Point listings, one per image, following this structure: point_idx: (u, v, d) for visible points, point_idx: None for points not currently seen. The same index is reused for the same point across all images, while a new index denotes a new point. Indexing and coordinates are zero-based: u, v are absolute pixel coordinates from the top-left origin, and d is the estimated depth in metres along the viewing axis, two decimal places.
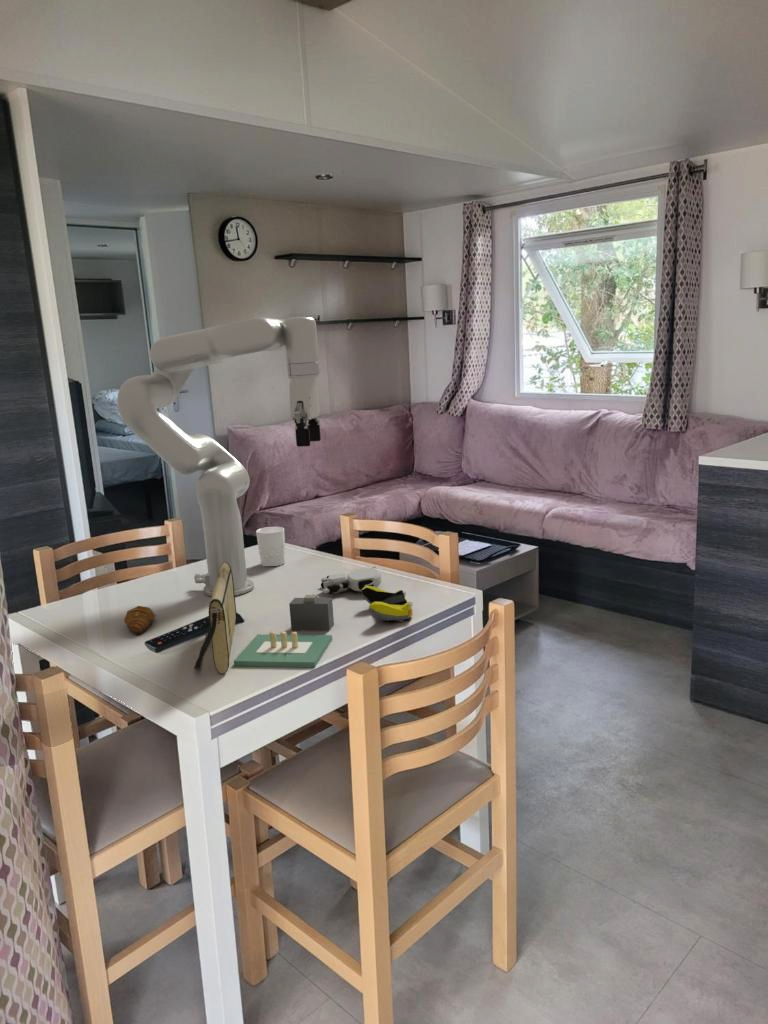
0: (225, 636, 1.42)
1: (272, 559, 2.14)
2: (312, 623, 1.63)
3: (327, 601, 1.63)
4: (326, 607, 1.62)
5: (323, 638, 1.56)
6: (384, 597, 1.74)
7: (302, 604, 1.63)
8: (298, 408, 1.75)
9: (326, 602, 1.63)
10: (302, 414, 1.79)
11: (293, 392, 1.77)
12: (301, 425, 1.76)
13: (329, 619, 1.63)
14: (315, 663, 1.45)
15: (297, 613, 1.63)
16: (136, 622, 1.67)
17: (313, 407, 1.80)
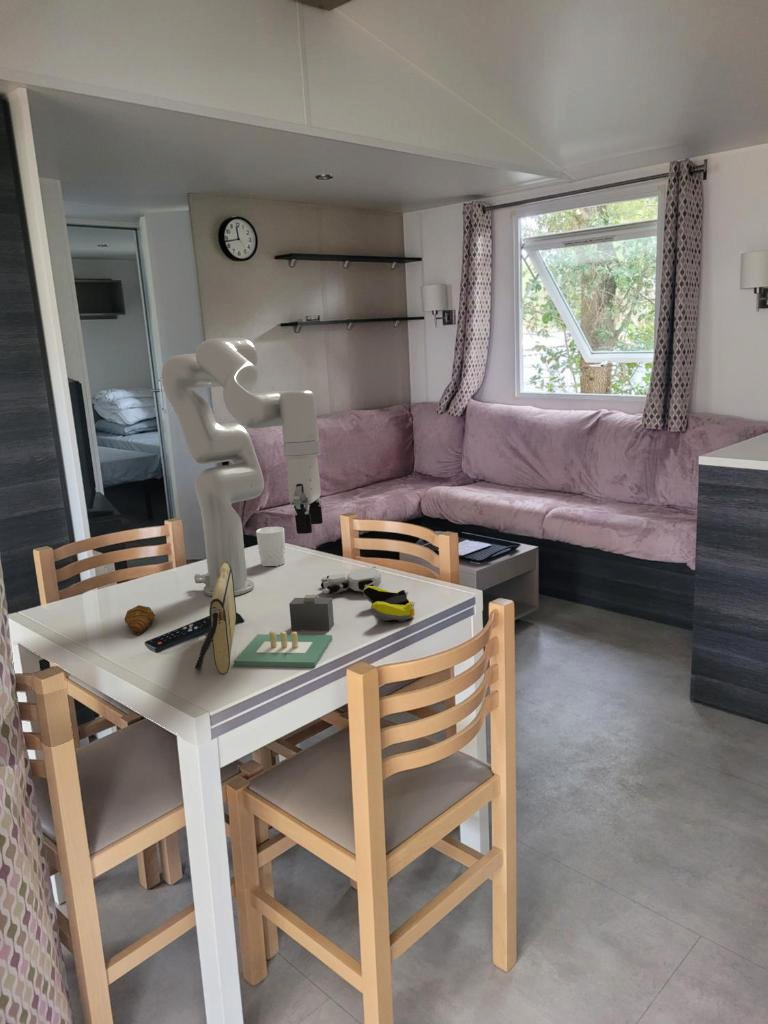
0: (226, 636, 1.42)
1: (272, 559, 2.14)
2: (312, 623, 1.63)
3: (327, 601, 1.63)
4: (326, 607, 1.62)
5: (323, 638, 1.56)
6: (386, 597, 1.74)
7: (302, 604, 1.63)
8: (298, 493, 1.57)
9: (326, 602, 1.63)
10: (302, 498, 1.61)
11: (291, 474, 1.59)
12: (301, 511, 1.58)
13: (329, 619, 1.63)
14: (315, 663, 1.45)
15: (297, 613, 1.63)
16: (136, 622, 1.67)
17: (314, 490, 1.62)
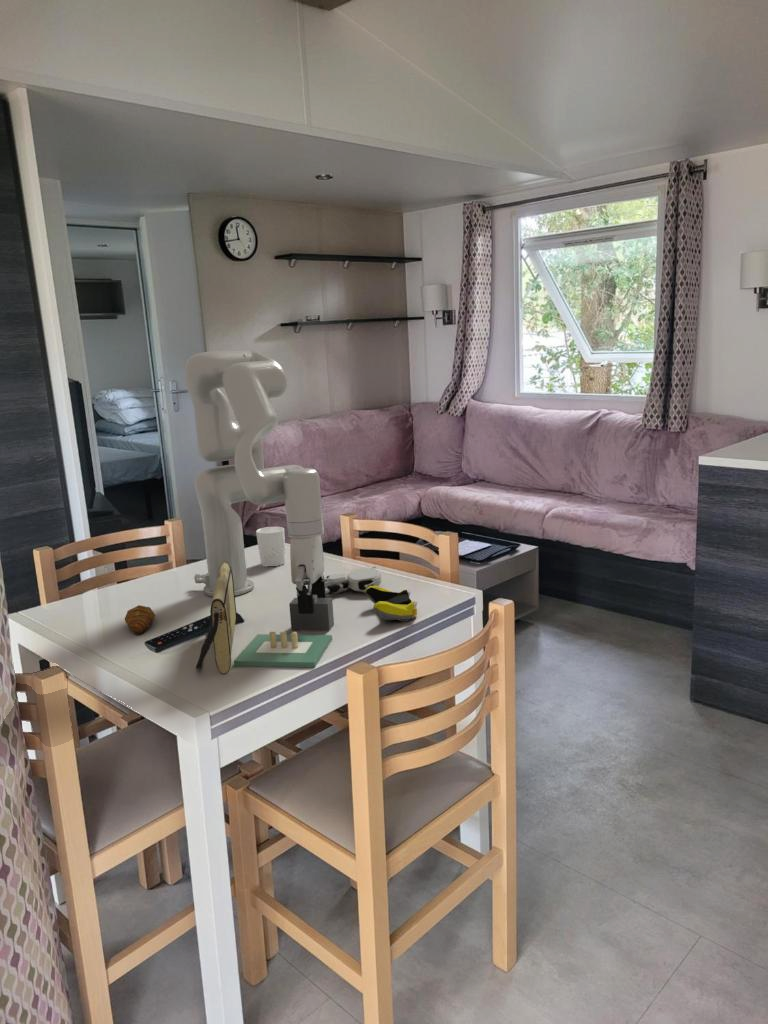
0: (227, 636, 1.42)
1: (272, 559, 2.14)
2: (312, 623, 1.63)
3: (327, 601, 1.63)
4: (326, 607, 1.62)
5: (323, 638, 1.56)
6: (388, 596, 1.74)
7: None
8: (300, 575, 1.55)
9: (326, 602, 1.63)
10: (305, 577, 1.60)
11: (294, 555, 1.57)
12: (304, 592, 1.56)
13: (329, 619, 1.63)
14: (315, 663, 1.45)
15: (297, 613, 1.63)
16: (137, 622, 1.67)
17: (317, 569, 1.60)
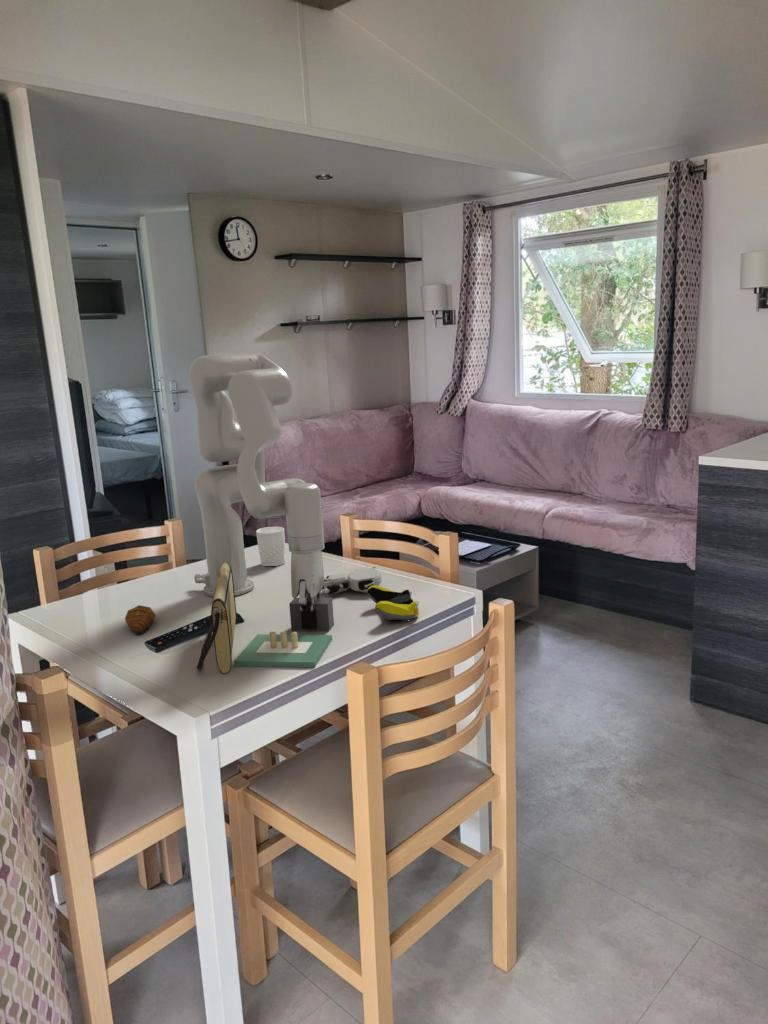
0: (228, 636, 1.42)
1: (272, 559, 2.14)
2: None
3: (327, 601, 1.63)
4: (326, 607, 1.62)
5: (323, 638, 1.56)
6: (390, 596, 1.74)
7: None
8: (302, 596, 1.58)
9: (326, 602, 1.63)
10: None
11: (294, 570, 1.58)
12: (307, 609, 1.60)
13: (329, 619, 1.63)
14: (315, 663, 1.45)
15: (297, 613, 1.63)
16: (137, 622, 1.67)
17: (317, 583, 1.61)
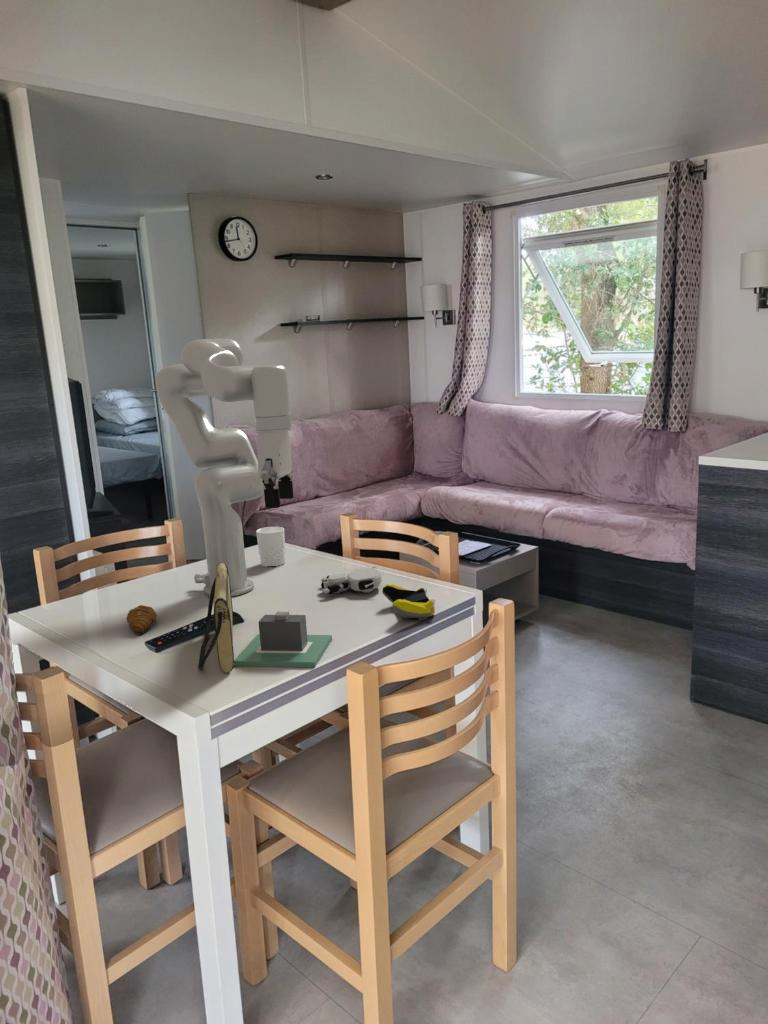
0: (230, 635, 1.43)
1: (272, 559, 2.14)
2: (283, 643, 1.50)
3: (300, 619, 1.50)
4: (298, 625, 1.49)
5: (323, 638, 1.56)
6: (405, 595, 1.74)
7: (272, 622, 1.49)
8: (266, 467, 1.58)
9: (298, 620, 1.49)
10: (271, 472, 1.63)
11: (261, 449, 1.60)
12: (270, 485, 1.60)
13: (302, 638, 1.50)
14: (315, 663, 1.45)
15: (267, 632, 1.50)
16: (138, 622, 1.67)
17: (284, 465, 1.63)
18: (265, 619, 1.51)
